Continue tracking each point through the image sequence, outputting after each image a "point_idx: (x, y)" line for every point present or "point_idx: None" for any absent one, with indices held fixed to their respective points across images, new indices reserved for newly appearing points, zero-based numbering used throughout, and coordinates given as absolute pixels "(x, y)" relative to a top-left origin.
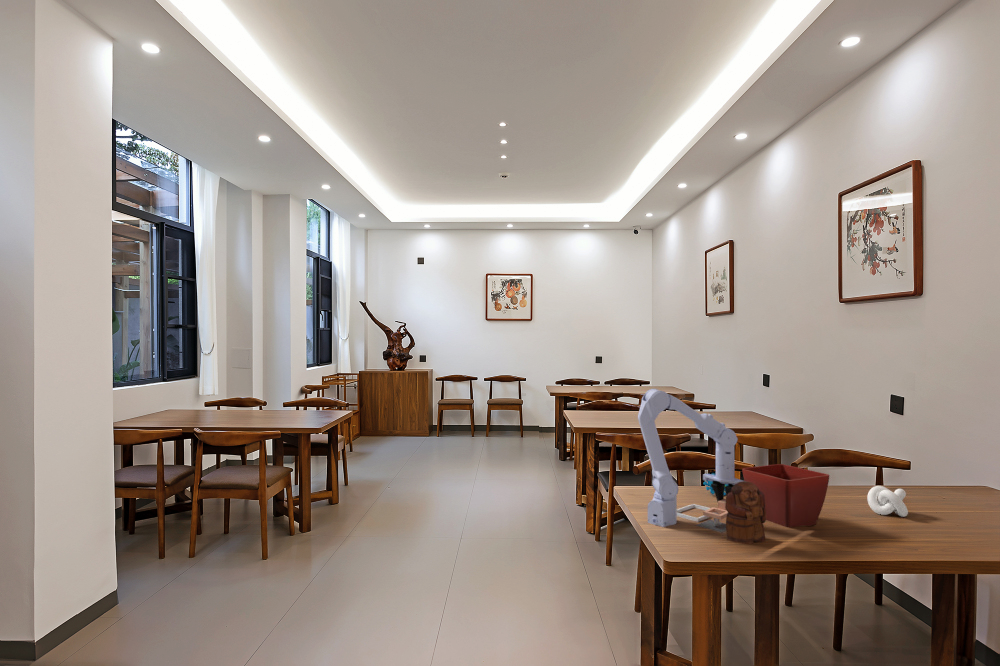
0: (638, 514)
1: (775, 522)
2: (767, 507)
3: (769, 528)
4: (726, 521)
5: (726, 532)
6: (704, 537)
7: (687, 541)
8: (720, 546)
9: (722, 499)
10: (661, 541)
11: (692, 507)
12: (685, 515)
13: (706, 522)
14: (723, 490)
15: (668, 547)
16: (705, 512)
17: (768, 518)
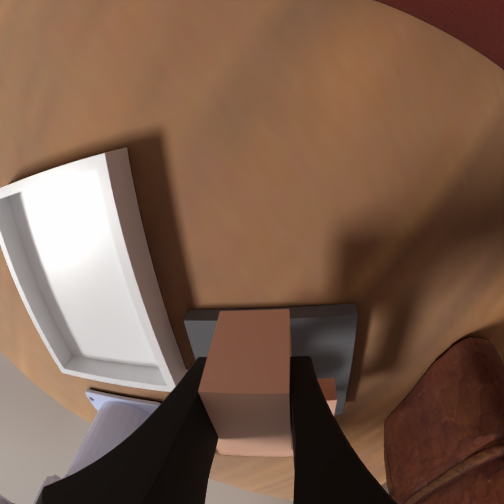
0: (40, 383)
1: (481, 49)
2: (499, 24)
3: (469, 121)
4: (391, 491)
5: (385, 457)
6: None
7: (287, 469)
8: (374, 447)
9: (208, 411)
10: (246, 484)
11: (5, 209)
12: (119, 384)
13: None
14: (166, 475)
15: (282, 491)
16: (233, 453)
17: (440, 21)
